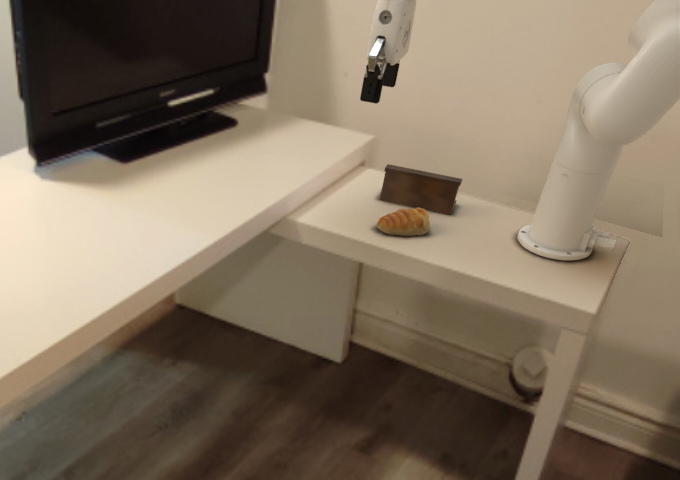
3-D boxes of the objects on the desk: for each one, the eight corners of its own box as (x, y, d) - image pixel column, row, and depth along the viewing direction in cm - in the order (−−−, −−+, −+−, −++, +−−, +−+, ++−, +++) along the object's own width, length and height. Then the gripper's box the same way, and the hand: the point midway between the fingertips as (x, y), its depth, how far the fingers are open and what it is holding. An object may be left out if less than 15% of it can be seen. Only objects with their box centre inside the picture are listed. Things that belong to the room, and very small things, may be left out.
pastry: (385, 240, 146) (389, 221, 143) (369, 224, 151) (372, 205, 148) (431, 235, 147) (436, 216, 145) (413, 219, 152) (418, 200, 150)
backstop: (456, 206, 157) (465, 173, 153) (451, 215, 154) (460, 182, 150) (384, 190, 162) (391, 159, 158) (378, 199, 159) (385, 167, 155)
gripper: (408, -2, 119) (385, 112, 129) (435, -23, 130) (412, 83, 141) (359, -8, 121) (340, 104, 132) (390, -28, 133) (370, 76, 144)
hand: (377, 93), depth 137 cm, fingers open, 9 cm apart
